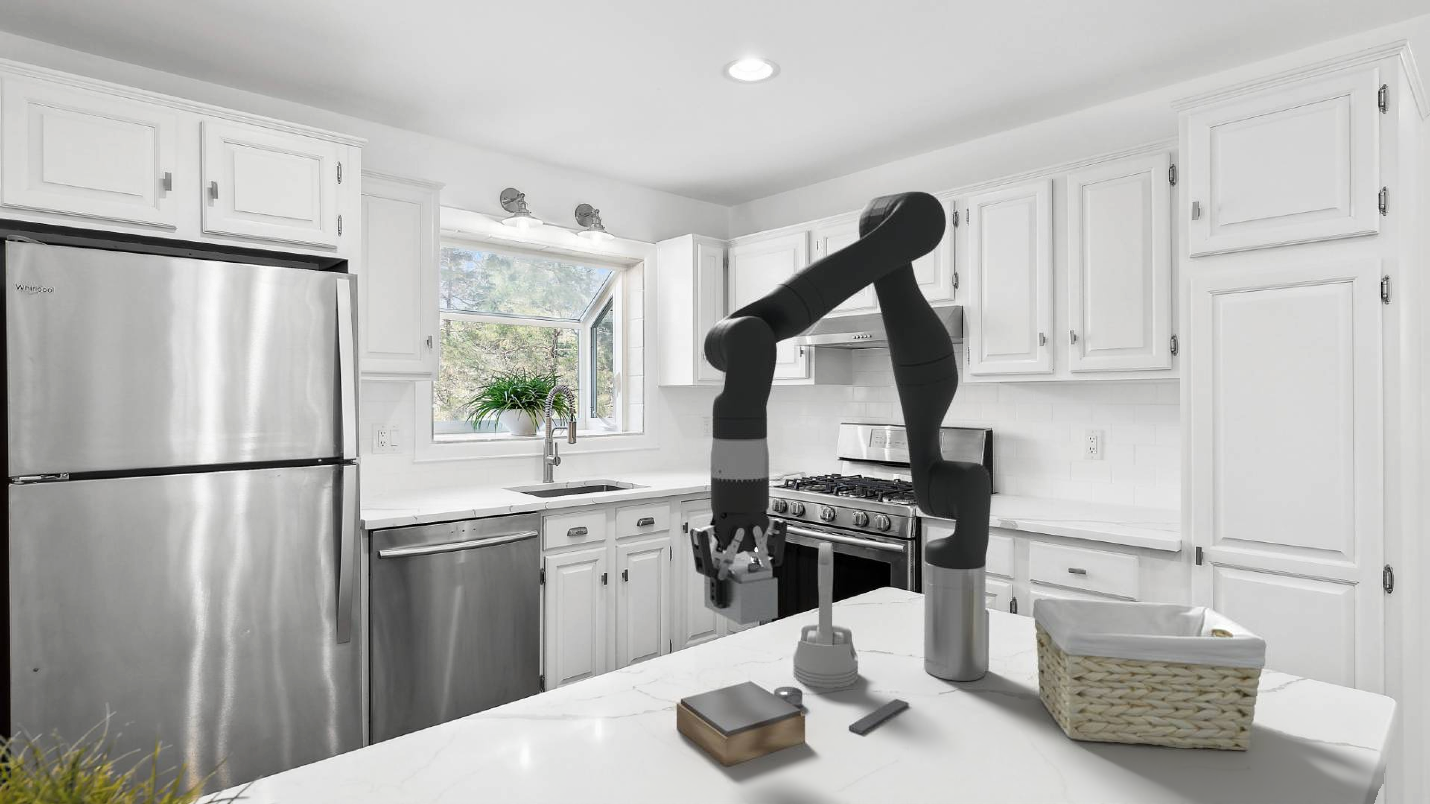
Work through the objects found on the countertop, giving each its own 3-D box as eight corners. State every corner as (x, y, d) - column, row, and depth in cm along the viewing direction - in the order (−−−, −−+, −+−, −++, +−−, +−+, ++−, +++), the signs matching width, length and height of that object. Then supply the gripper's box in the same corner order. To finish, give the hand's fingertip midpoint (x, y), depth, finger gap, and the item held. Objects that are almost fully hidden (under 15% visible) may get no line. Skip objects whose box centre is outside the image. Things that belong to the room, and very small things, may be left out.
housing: (777, 617, 96) (777, 564, 96) (740, 624, 94) (740, 569, 93) (739, 600, 104) (739, 550, 104) (704, 606, 101) (704, 555, 101)
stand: (751, 707, 107) (751, 679, 107) (805, 741, 97) (805, 710, 97) (676, 728, 101) (676, 698, 101) (726, 767, 91) (726, 733, 91)
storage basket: (1204, 704, 108) (1205, 601, 108) (1271, 760, 92) (1273, 639, 92) (1027, 696, 112) (1028, 595, 111) (1063, 749, 96) (1064, 631, 95)
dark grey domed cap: (790, 698, 111) (790, 684, 111) (808, 707, 108) (808, 693, 108) (768, 704, 109) (768, 690, 109) (785, 714, 106) (785, 700, 106)
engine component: (789, 685, 116) (857, 690, 114) (790, 550, 115) (857, 553, 113) (796, 659, 126) (858, 663, 124) (796, 536, 126) (858, 538, 124)
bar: (896, 705, 109) (896, 698, 109) (908, 709, 108) (908, 702, 108) (848, 733, 101) (848, 726, 101) (861, 738, 99) (861, 731, 99)
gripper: (707, 480, 91) (708, 620, 92) (802, 472, 99) (802, 602, 99) (676, 474, 98) (677, 605, 98) (767, 467, 105) (767, 589, 106)
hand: (740, 603), depth 99 cm, fingers closed on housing, 5 cm apart
